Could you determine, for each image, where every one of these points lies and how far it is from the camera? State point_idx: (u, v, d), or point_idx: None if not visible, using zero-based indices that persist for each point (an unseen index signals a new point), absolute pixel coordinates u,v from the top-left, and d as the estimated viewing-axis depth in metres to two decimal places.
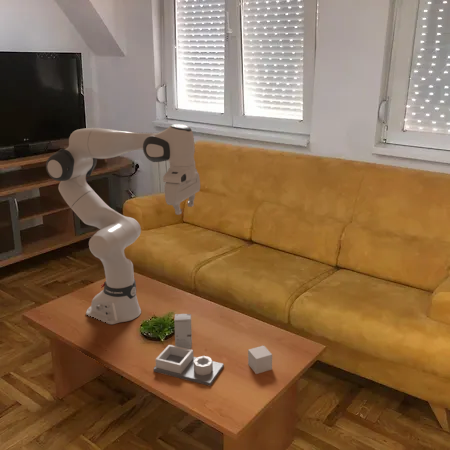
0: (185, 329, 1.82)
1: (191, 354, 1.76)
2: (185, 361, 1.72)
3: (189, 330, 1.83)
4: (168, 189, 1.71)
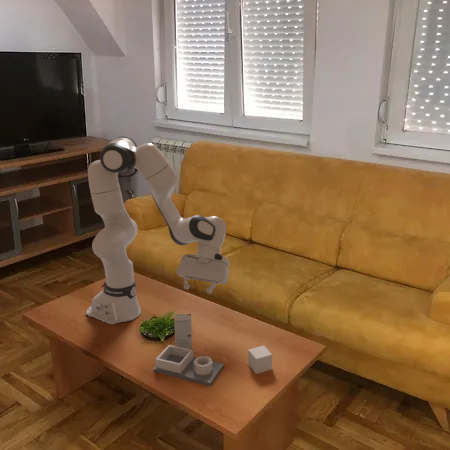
0: (185, 329, 1.82)
1: (191, 354, 1.76)
2: (185, 361, 1.72)
3: (189, 330, 1.83)
4: (227, 269, 1.92)
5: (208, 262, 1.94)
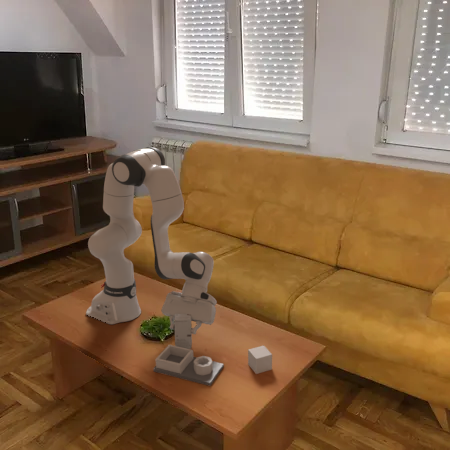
0: (185, 329, 1.82)
1: (191, 354, 1.76)
2: (185, 361, 1.72)
3: (189, 330, 1.83)
4: (213, 308, 1.84)
5: (194, 301, 1.86)
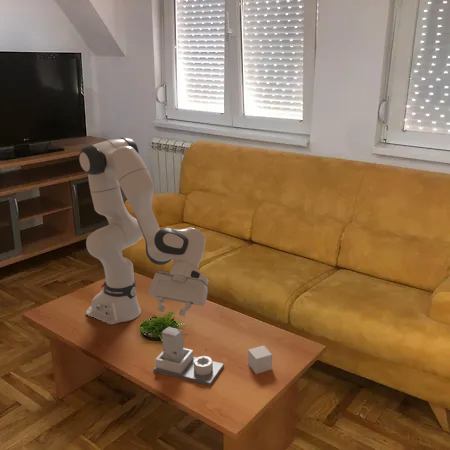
0: (171, 344, 1.71)
1: (191, 354, 1.76)
2: (185, 361, 1.72)
3: (174, 347, 1.70)
4: (205, 288, 1.68)
5: (184, 280, 1.69)
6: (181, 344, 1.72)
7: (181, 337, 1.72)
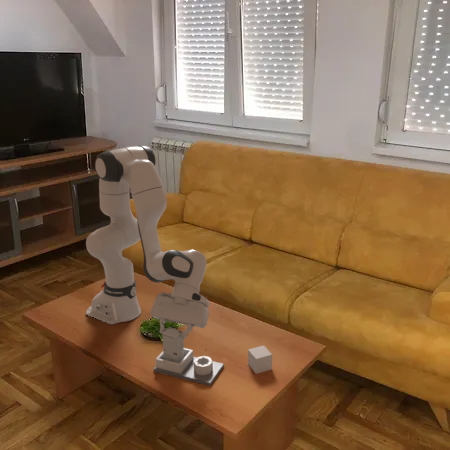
0: (171, 345, 1.70)
1: (191, 354, 1.76)
2: (185, 361, 1.72)
3: (175, 348, 1.70)
4: (206, 310, 1.70)
5: (185, 303, 1.72)
6: (182, 345, 1.72)
7: (182, 338, 1.71)
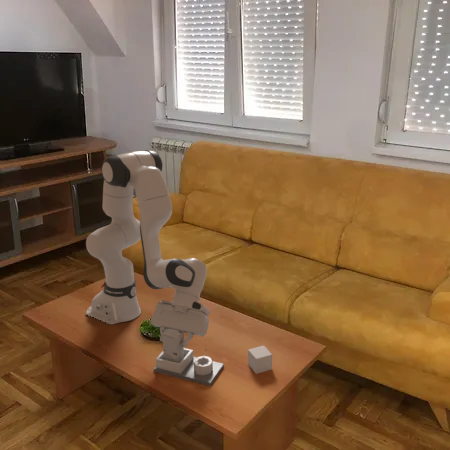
0: (171, 345, 1.70)
1: (191, 354, 1.76)
2: (185, 361, 1.72)
3: (175, 348, 1.70)
4: (206, 319, 1.72)
5: (185, 311, 1.73)
6: (181, 345, 1.72)
7: (182, 338, 1.71)
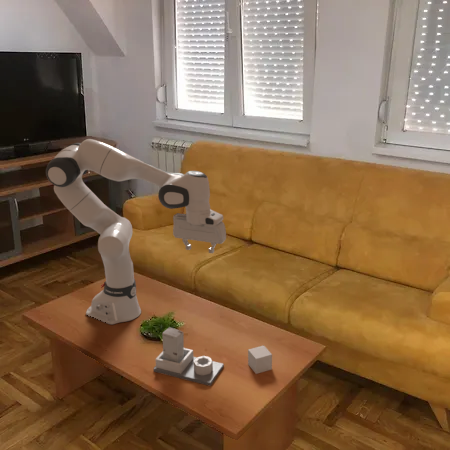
0: (171, 345, 1.70)
1: (191, 354, 1.76)
2: (185, 361, 1.72)
3: (175, 348, 1.70)
4: (222, 228, 1.83)
5: (201, 225, 1.84)
6: (181, 345, 1.72)
7: (182, 338, 1.71)
